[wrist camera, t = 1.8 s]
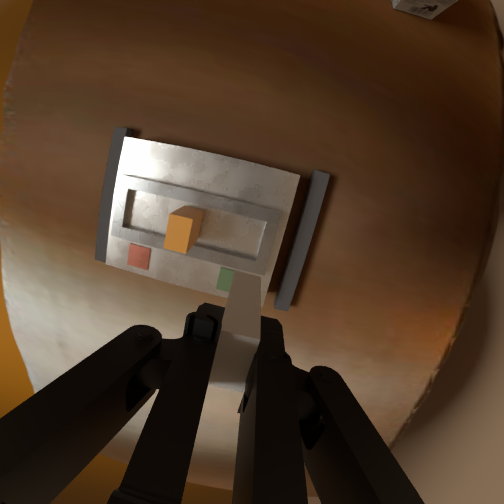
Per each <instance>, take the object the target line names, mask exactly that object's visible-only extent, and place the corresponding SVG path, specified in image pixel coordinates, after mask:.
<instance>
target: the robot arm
mask: <svg viewBox="0 0 504 504" xmlns="http://www.w3.org/2000/svg"><path fill="white" fill-rule="evenodd" d="M208 384H209V385H213V386H217V387H221V388H225V389H230V390H234V391H239V392H243V390H244V387H245V392H244V395H243V398H242V401H241V404H240V406H239V409H238V412H237V413H240V423H239V433H238V444H237V454H236V464H235V475H234V485H233V496H232V504H308V499H307V488H306V478H305V469H304V463H305V466H306V468H307V470H308V473H309V475H310V478H311V480H312V483H313V485H314V487H315V490H316V492H317V494H318V497H319V499H320V501H321V504H424V502H423V500H422V499H421V497H420V496H419V494H418V492H417V491H416V489H415V488H414V486H413V485H412V483H411V482H410V480H409V479H408V477H407V476H406V474H405V473H404V471H403V470H402V468H401V467H400V465H399V464H398V462H397V460H396V459H395V458H394V456H393V454H392V453H391V451H390V450H389V448H388V447H387V445H386V444H385V442H384V441H383V439H382V438H381V436H380V435H379V433H378V432H377V430H376V428H375V427H374V425H373V424H372V422H371V421H370V419H369V418H368V416H367V415H366V413H365V412H364V410H363V409H362V407H361V406H360V404H359V403H358V401H357V400H356V398H355V397H354V395H353V394H352V392H351V391H350V389H349V388H348V386H347V385H346V383H345V382H344V380H343V379H342V377H341V376H340V375H339V374H338V373H337V372H336V371H335V370H333V369H332V368H329V367H326V366H314V367H313V368H311V370H310V372H307V371H304V370H302V369H299V368H297V367H295V366H294V365H292V361H291V358H290V356H289V355H288V354H287V353H286V352H285V347H284V338H283V329H282V325H281V324H280V322H279V321H278V320H277V319H273V318H269V317H265V316H261V277H259V276H255V275H251V274H247V273H243V272H239V271H235V272H234V276H233V280H232V284H231V288H230V292H229V296H228V300H227V303H226V307H225V308H224V307H220V306H216V305H213V304H209V303H204V304H202V305H200V306H199V307H198V309H197V312H192V313H189V314H188V315H187V317H186V322H185V328H184V334H183V337H181V338H178V339H163V338H162V335H161V333H160V332H159V331H158V330H157V329H155V328H154V327H151V326H148V325H134V326H132V327H130V328H128V329H127V330H125V331H124V332H123V333H121V334H120V335H118V336H117V337H115V338H114V339H113V340H111V341H110V342H108V343H107V344H105V345H104V346H102V347H101V348H100V349H98V350H97V351H95V352H94V353H92V354H91V355H90V356H88V357H87V358H85V359H84V360H82V361H81V362H80V363H78V364H77V365H75V366H74V367H72V368H71V369H70V370H68V371H67V372H65V373H64V374H62V375H61V376H60V377H58V378H57V379H55V380H54V381H53V382H51V383H50V384H48V385H47V386H45V387H44V388H43V389H41V390H40V391H38V392H37V393H36V394H34V395H33V396H31V397H30V398H29V399H27V400H26V401H24V402H23V403H22V404H20V405H19V406H17V407H16V408H14V409H13V410H12V411H10V412H9V413H8V414H6V415H5V416H3V417H2V418H1V419H0V504H50V503H51V501H52V500H54V499H55V498H56V496H58V495H59V493H60V492H61V491H63V489H64V488H65V487H66V486H67V485H68V484H69V483H70V482H71V481H72V480H73V479H74V478H75V477H76V476H77V475H78V474H79V473H80V472H81V471H82V470H83V469H84V468H85V467H86V466H87V465H88V464H89V463H90V461H92V459H93V458H94V457H95V456H96V455H97V454H98V453H99V452H100V451H101V450H102V449H103V448H104V447H105V446H106V445H107V444H108V443H109V442H110V440H111V439H112V438H113V437H114V436H115V435H116V434H117V433H118V432H119V431H120V430H121V429H122V428H123V427H124V426H125V424H126V423H127V422H128V421H129V420H130V419H131V418H132V417H133V416H134V415H135V414H136V413H137V412H138V410H139V409H140V408H141V407H142V406H143V405H144V404H145V403H146V402H147V401H148V400H149V398H150V397H151V396H152V395H153V394H154V393H155V391H156V389H159V392H158V394H157V396H156V399H155V401H154V404H153V406H152V408H151V411H150V413H149V415H148V418H147V420H146V423H145V425H144V428H143V430H142V432H141V435H140V437H139V440H138V442H137V445H136V447H135V450H134V452H133V455H132V457H131V460H130V462H129V465H128V467H127V470H126V472H125V475H124V477H123V480H122V482H121V485H120V487H119V488H118V489H116V490H114V491H113V492H112V494H111V496H110V498H109V500H108V502H107V504H181V501H182V496H183V492H184V487H185V482H186V478H187V474H188V469H189V465H190V460H191V456H192V451H193V447H194V443H195V438H196V434H197V429H198V425H199V421H200V416H201V412H202V408H203V403H204V399H205V395H206V391H207V386H208Z"/></svg>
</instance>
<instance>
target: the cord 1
mask: <svg viewBox="0 0 504 504" xmlns="http://www.w3.org/2000/svg"><path fill="white" fill-rule="evenodd" d="M131 135H132V129H128V128H121V127H115V129H114V133H113V138H112V142H111V147H110V152H109V157H108V162H107V167H106V173H105V179H104V185H103V191H102V198H101V205H100V213H99V221H98V231H97V241H96V253H95V260H99V261H102V262H105V263H106V254H107V244H108V234H109V226H110V218H111V210H112V203H113V197H114V191H115V185H116V179H117V173H118V168H119V163H120V158H121V153H122V148H123V143H124V139H125V137H129V138H131Z"/></svg>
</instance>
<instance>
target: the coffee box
mask: <svg viewBox="0 0 504 504" xmlns="http://www.w3.org/2000/svg"><path fill="white" fill-rule="evenodd" d="M457 1H459V0H392V5H393V8H394V9H396V10H400V11H404V12H407V13H411V14H414V15H417V16H421V17H424V18H427V19H430V20H432V19H433V18H434V17H436V16H437V15H438V14H440V13H441V12H443V11H444V10H445V9H447V8H448V7H450V6H451V5H453V4H454V3H455V2H457Z"/></svg>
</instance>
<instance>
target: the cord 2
mask: <svg viewBox="0 0 504 504" xmlns="http://www.w3.org/2000/svg"><path fill="white" fill-rule="evenodd" d="M329 177H330V174H327V173H324V172H321V171H317V170H313V172H312V176H311V180H310V183H309V187H308V190H307V194H306V198H305V201H304V205H303V208H302V212H301V215H300V219H299V222H298V225H297V229H296V232H295V236H294V239H293V242H292V246H291V249H290V253H289V256H288V259H287V262H286V266H285V269H284V272H283V276H282V279H281V282H280V285H279V288H278V292H277V295H276V298H275V301H274V308H275V309H279V310H284V311H288V310H289V307H290V304H291V301H292V298H293V295H294V292H295V289H296V286H297V283H298V280H299V277H300V274H301V271H302V267H303V264H304V261H305V258H306V255H307V252H308V249H309V245H310V242H311V239H312V236H313V232H314V229H315V226H316V222H317V219H318V216H319V212H320V209H321V205H322V202H323V198H324V195H325V191H326V188H327V184H328V181H329Z"/></svg>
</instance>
